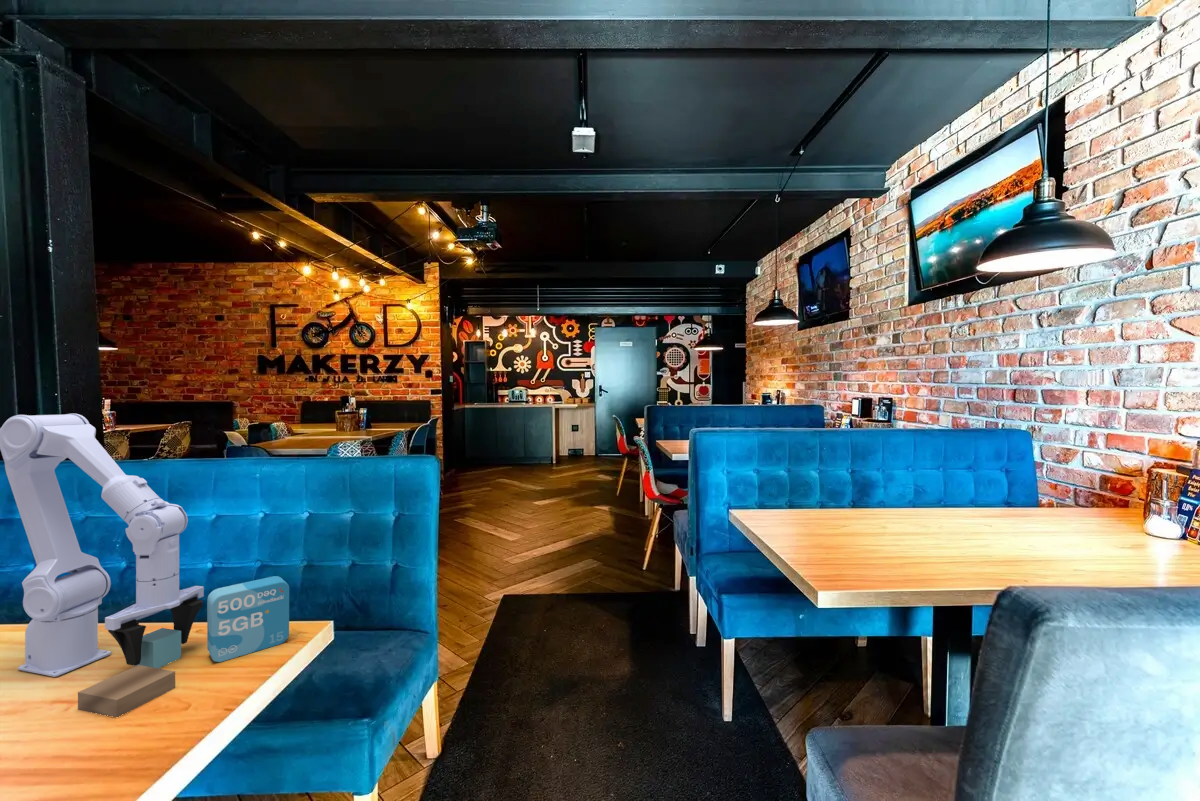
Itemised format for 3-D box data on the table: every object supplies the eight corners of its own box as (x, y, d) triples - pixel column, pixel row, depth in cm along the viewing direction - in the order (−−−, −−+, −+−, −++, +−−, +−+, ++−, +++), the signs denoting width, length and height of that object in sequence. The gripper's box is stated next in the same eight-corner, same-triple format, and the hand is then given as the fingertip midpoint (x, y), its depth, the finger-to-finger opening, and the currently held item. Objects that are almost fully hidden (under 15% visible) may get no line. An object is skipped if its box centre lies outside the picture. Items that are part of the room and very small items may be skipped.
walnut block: (77, 712, 75) (77, 692, 75) (138, 683, 83) (138, 665, 83) (116, 720, 73) (116, 700, 73) (175, 689, 81) (175, 671, 81)
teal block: (133, 668, 87) (134, 639, 87) (162, 655, 91) (162, 627, 91) (153, 671, 86) (153, 642, 86) (181, 658, 90) (181, 630, 90)
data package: (211, 665, 88) (211, 597, 88) (207, 656, 91) (207, 590, 91) (289, 641, 96) (289, 579, 96) (283, 634, 99) (283, 573, 99)
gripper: (127, 593, 80) (127, 677, 80) (216, 564, 95) (216, 636, 95) (95, 589, 82) (95, 672, 82) (187, 561, 96) (187, 632, 96)
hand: (158, 652), depth 89 cm, fingers open, 7 cm apart
